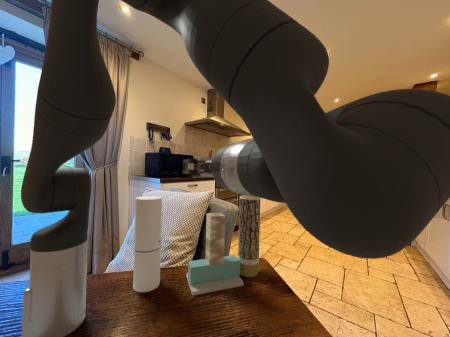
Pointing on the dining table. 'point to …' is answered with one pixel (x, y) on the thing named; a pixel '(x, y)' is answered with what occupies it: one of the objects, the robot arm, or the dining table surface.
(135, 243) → the cylindrical container
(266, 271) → the dining table surface
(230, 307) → the dining table surface
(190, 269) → the stand
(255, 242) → the bark log cylinder
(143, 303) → the dining table surface
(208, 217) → the ash post
